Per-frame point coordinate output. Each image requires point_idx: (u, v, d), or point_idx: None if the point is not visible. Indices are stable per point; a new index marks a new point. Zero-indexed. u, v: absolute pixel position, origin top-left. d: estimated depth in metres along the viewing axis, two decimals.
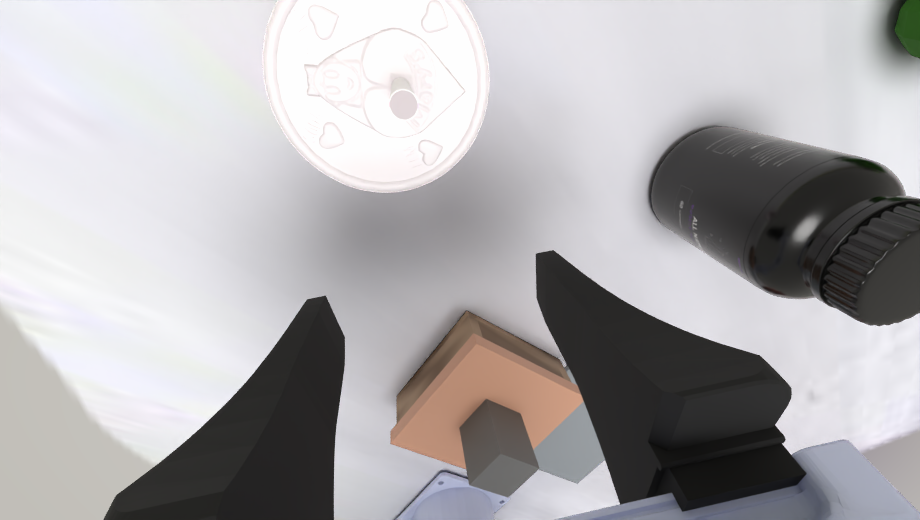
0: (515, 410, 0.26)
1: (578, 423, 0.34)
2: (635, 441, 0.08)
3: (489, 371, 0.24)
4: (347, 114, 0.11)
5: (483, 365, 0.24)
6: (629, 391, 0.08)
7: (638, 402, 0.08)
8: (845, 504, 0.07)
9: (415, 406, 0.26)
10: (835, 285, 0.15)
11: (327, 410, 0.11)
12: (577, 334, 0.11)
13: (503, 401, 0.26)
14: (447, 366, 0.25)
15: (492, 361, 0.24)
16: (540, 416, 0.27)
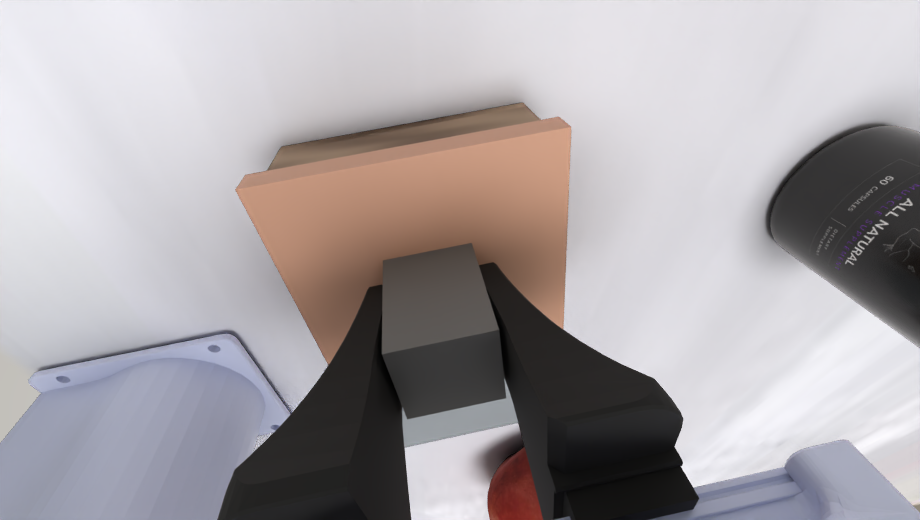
0: None
1: None
2: (542, 462, 0.08)
3: (527, 198, 0.12)
4: None
5: (533, 180, 0.12)
6: (533, 412, 0.08)
7: (538, 424, 0.08)
8: (844, 505, 0.07)
9: (347, 160, 0.12)
10: None
11: (396, 395, 0.11)
12: (505, 349, 0.11)
13: None
14: (469, 135, 0.12)
15: (549, 184, 0.12)
16: None
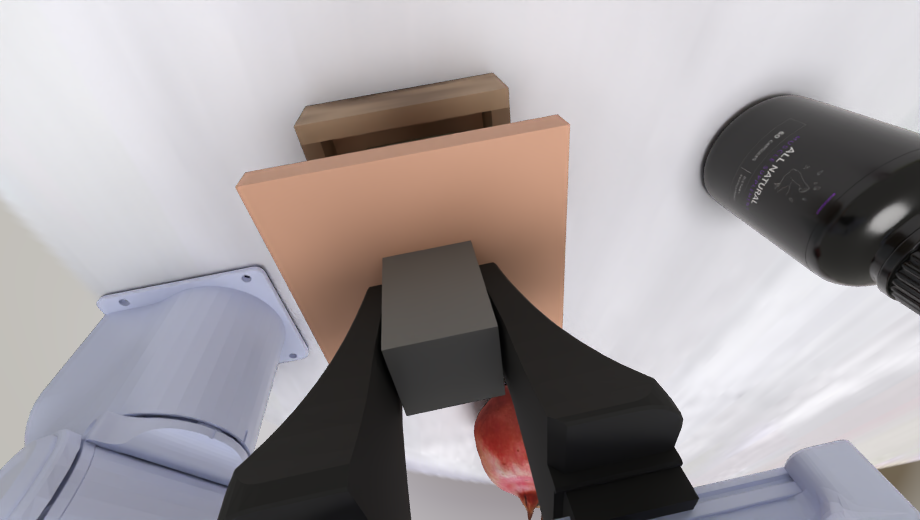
0: None
1: None
2: (541, 462, 0.08)
3: (526, 196, 0.12)
4: None
5: (532, 177, 0.12)
6: (533, 412, 0.08)
7: (538, 424, 0.08)
8: (845, 505, 0.07)
9: (346, 158, 0.12)
10: None
11: (396, 395, 0.11)
12: (505, 349, 0.11)
13: None
14: (468, 133, 0.12)
15: (548, 182, 0.12)
16: None
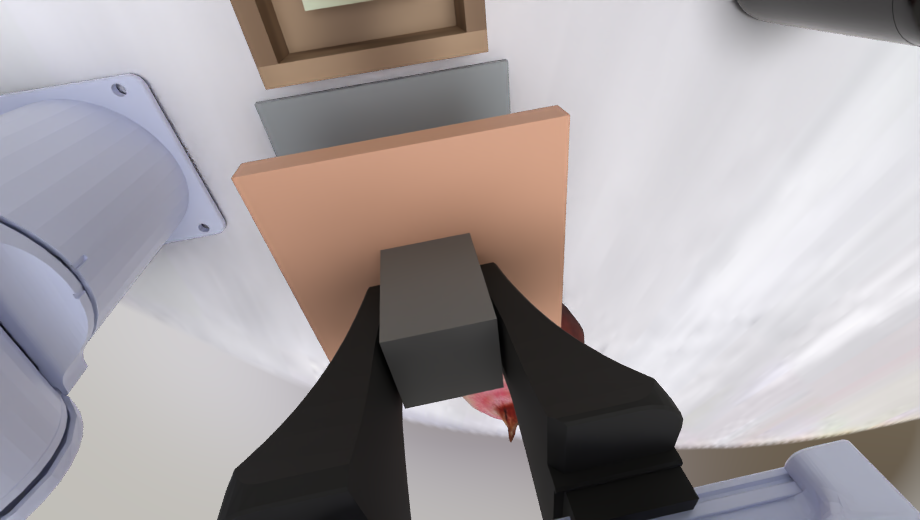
0: None
1: None
2: (542, 462, 0.08)
3: (525, 188, 0.12)
4: None
5: (531, 169, 0.12)
6: (533, 412, 0.08)
7: (538, 424, 0.08)
8: (845, 504, 0.07)
9: (344, 149, 0.11)
10: None
11: (396, 396, 0.11)
12: (505, 349, 0.11)
13: (482, 258, 0.14)
14: (467, 123, 0.12)
15: (548, 174, 0.12)
16: None
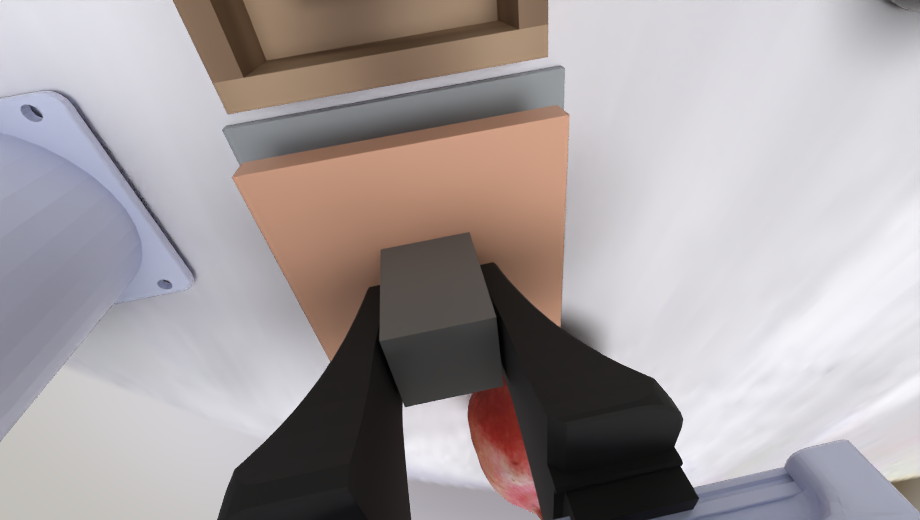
0: None
1: None
2: (542, 462, 0.08)
3: (525, 187, 0.12)
4: None
5: (531, 168, 0.12)
6: (533, 412, 0.08)
7: (538, 424, 0.08)
8: (844, 505, 0.07)
9: (344, 148, 0.11)
10: None
11: (396, 395, 0.11)
12: (505, 349, 0.11)
13: (482, 258, 0.14)
14: (467, 123, 0.12)
15: (547, 173, 0.12)
16: None
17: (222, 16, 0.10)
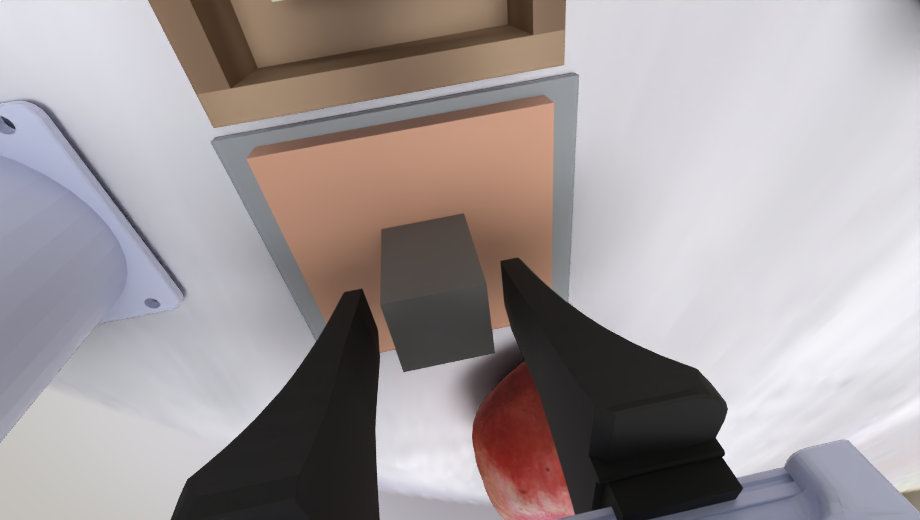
0: None
1: None
2: (580, 454, 0.08)
3: (515, 171, 0.13)
4: None
5: (520, 152, 0.13)
6: (573, 404, 0.08)
7: (579, 415, 0.08)
8: (844, 504, 0.07)
9: (348, 133, 0.13)
10: None
11: (368, 401, 0.11)
12: (535, 343, 0.11)
13: (476, 238, 0.15)
14: (461, 111, 0.13)
15: (535, 158, 0.13)
16: None
17: (206, 21, 0.09)
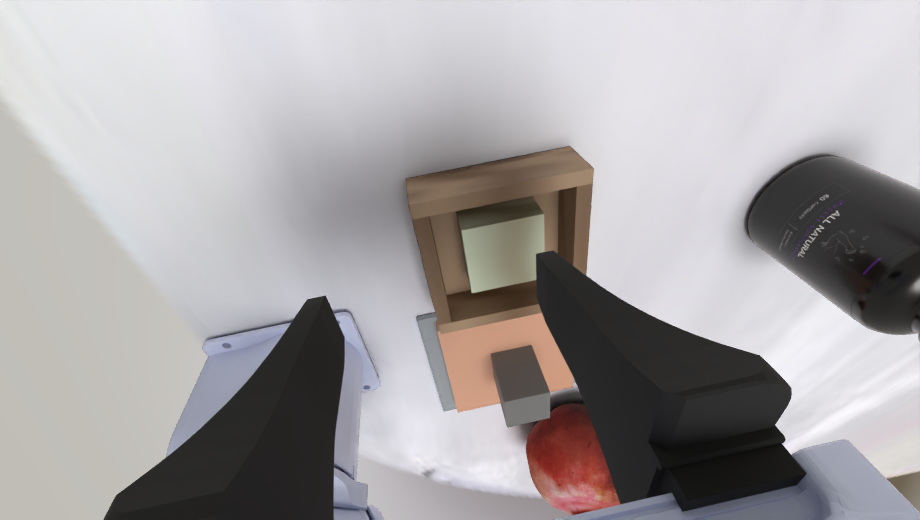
0: None
1: None
2: (635, 441, 0.08)
3: None
4: None
5: None
6: (629, 391, 0.08)
7: (638, 402, 0.08)
8: (844, 505, 0.07)
9: None
10: None
11: (327, 410, 0.11)
12: (577, 334, 0.11)
13: (536, 354, 0.29)
14: None
15: None
16: None
17: (447, 301, 0.23)
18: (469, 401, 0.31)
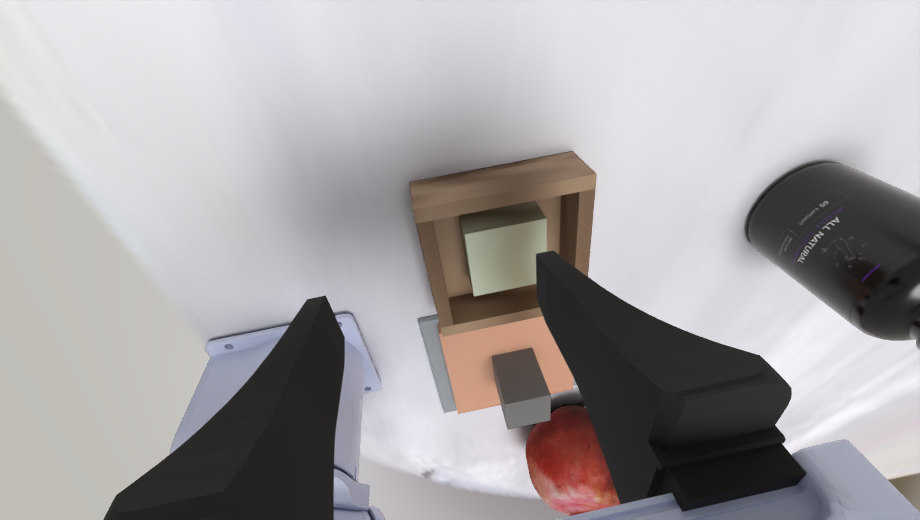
0: None
1: None
2: (635, 441, 0.08)
3: None
4: None
5: None
6: (629, 391, 0.08)
7: (638, 402, 0.08)
8: (845, 505, 0.07)
9: None
10: None
11: (327, 410, 0.11)
12: (577, 334, 0.11)
13: (537, 357, 0.29)
14: None
15: None
16: None
17: None
18: (469, 403, 0.31)
